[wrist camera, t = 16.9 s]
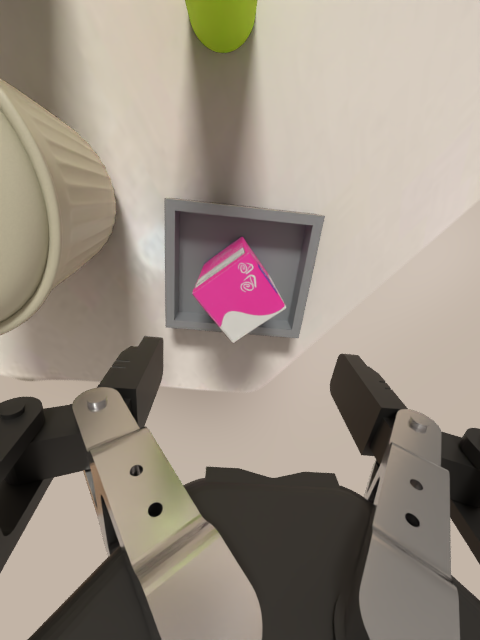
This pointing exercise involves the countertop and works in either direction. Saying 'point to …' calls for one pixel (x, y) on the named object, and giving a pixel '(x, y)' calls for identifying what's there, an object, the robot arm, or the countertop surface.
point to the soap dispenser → (222, 22)
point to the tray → (264, 240)
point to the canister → (45, 205)
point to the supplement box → (237, 291)
